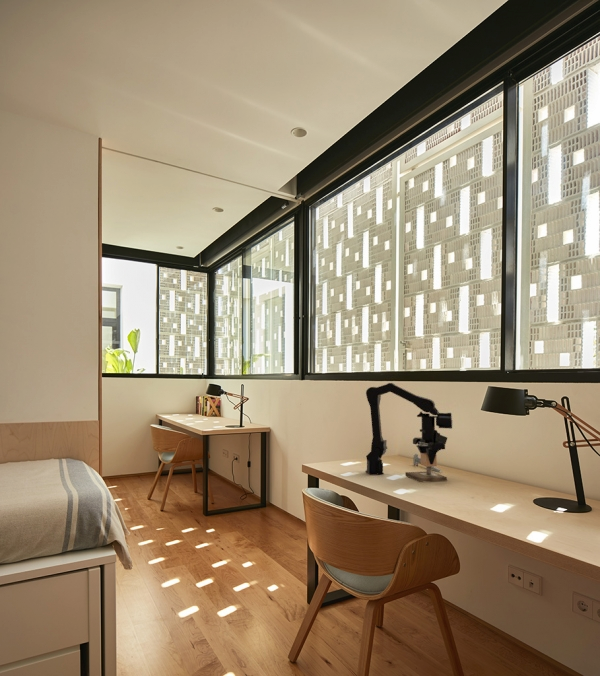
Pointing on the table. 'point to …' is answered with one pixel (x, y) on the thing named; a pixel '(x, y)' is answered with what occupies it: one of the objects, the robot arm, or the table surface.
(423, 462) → the light brown cube
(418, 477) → the post board
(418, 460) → the caliper
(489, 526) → the table surface
